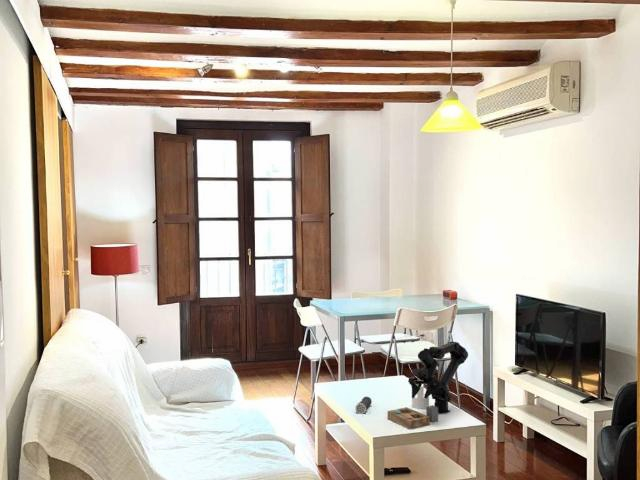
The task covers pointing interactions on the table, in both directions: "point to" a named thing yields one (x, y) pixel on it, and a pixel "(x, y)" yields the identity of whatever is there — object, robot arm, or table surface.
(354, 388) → the table surface
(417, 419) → the socket board
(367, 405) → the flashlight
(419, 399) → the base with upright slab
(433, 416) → the grey upright block
